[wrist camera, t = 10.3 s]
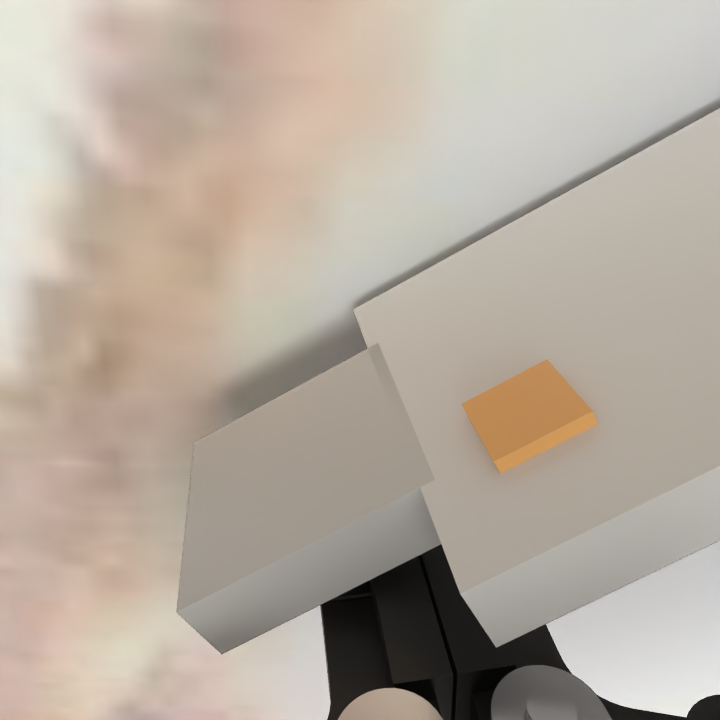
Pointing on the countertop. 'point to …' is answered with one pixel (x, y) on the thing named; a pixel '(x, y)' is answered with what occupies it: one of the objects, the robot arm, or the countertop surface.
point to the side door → (492, 420)
